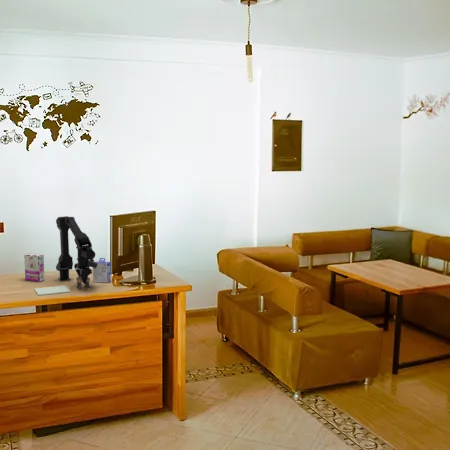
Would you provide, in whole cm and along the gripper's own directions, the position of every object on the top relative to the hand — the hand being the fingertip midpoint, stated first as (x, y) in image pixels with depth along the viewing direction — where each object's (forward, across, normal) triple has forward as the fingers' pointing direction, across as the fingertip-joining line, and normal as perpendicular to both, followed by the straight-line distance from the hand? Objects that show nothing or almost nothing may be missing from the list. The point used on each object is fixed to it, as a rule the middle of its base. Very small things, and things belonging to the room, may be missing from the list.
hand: (83, 282), depth 350 cm
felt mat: (+3, 0, +18) cm, 18 cm away
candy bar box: (+3, +29, +23) cm, 37 cm away
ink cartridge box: (+3, +10, -14) cm, 18 cm away
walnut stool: (+3, 0, 0) cm, 3 cm away
